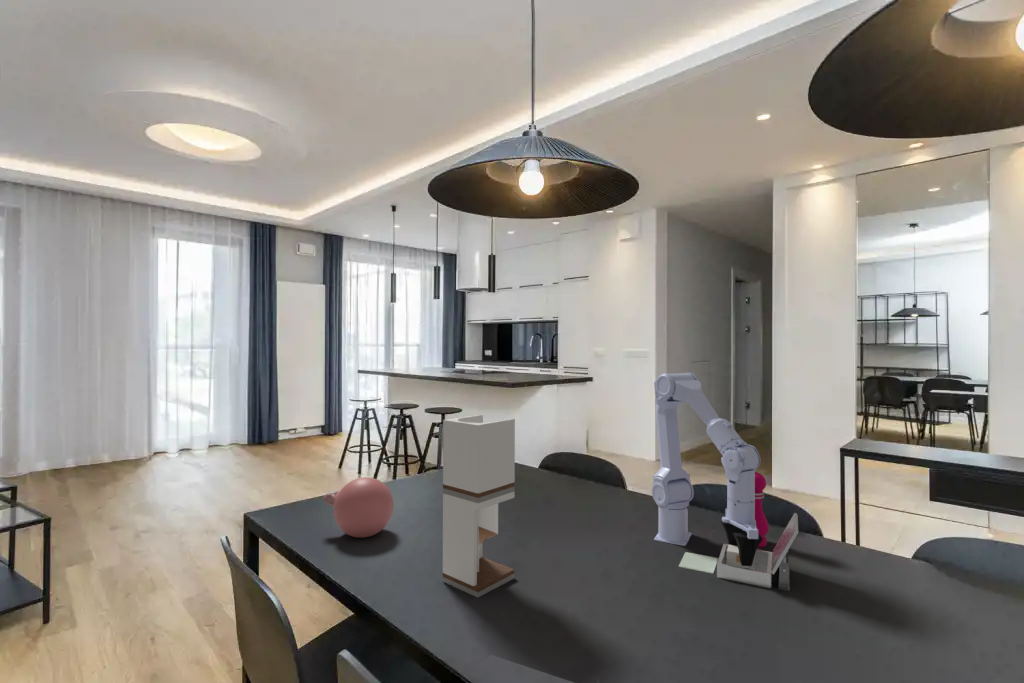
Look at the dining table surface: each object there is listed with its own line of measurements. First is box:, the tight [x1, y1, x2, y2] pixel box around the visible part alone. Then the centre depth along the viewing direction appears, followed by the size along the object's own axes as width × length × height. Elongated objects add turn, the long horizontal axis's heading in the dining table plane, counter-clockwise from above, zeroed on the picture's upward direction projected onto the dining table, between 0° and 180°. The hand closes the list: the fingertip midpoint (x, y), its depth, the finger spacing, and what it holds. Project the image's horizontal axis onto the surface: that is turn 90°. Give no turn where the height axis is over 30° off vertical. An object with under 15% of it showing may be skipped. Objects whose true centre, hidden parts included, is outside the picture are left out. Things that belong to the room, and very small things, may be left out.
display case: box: [442, 414, 516, 599], centre depth 111 cm, size 11×11×35 cm
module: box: [727, 545, 755, 570], centre depth 116 cm, size 4×6×4 cm
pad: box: [678, 551, 719, 574], centre depth 120 cm, size 9×8×1 cm
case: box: [716, 543, 790, 592], centre depth 115 cm, size 13×14×5 cm
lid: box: [771, 512, 799, 575], centre depth 112 cm, size 13×11×1 cm
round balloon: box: [322, 476, 395, 539], centre depth 137 cm, size 15×20×15 cm
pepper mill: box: [755, 468, 770, 548], centre depth 132 cm, size 7×7×20 cm
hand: (740, 559), depth 116 cm, fingers closed on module, 6 cm apart
